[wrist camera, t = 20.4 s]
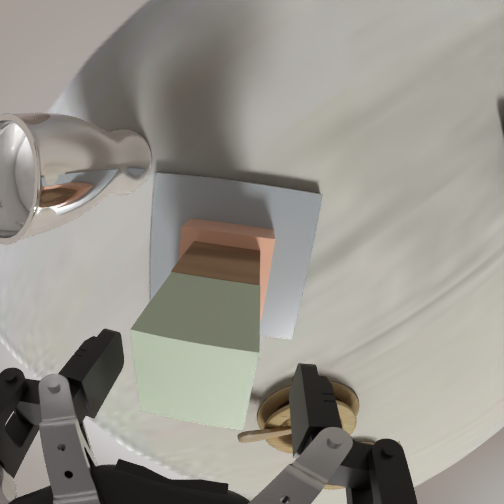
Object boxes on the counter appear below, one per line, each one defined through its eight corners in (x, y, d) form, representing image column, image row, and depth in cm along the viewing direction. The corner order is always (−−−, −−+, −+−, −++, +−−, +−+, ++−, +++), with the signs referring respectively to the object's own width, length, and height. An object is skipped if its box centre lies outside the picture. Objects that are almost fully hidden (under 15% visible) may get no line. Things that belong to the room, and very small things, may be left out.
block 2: (171, 271, 16) (130, 329, 10) (260, 285, 16) (259, 352, 10) (170, 343, 18) (140, 410, 12) (248, 356, 18) (242, 430, 12)
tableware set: (403, 450, 38) (412, 474, 32) (304, 486, 41) (306, 511, 36) (362, 348, 30) (377, 382, 24) (214, 407, 34) (208, 442, 28)
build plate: (158, 172, 24) (141, 175, 20) (320, 193, 24) (330, 200, 20) (154, 313, 28) (140, 334, 25) (290, 333, 29) (293, 358, 25)
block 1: (193, 240, 22) (170, 270, 16) (260, 250, 22) (259, 284, 16) (189, 299, 23) (169, 342, 18) (250, 309, 23) (247, 355, 18)
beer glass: (160, 194, 25) (53, 243, 10) (96, 204, 25) (-21, 253, 11) (153, 117, 23) (39, 87, 8) (88, 133, 23) (-36, 134, 9)
